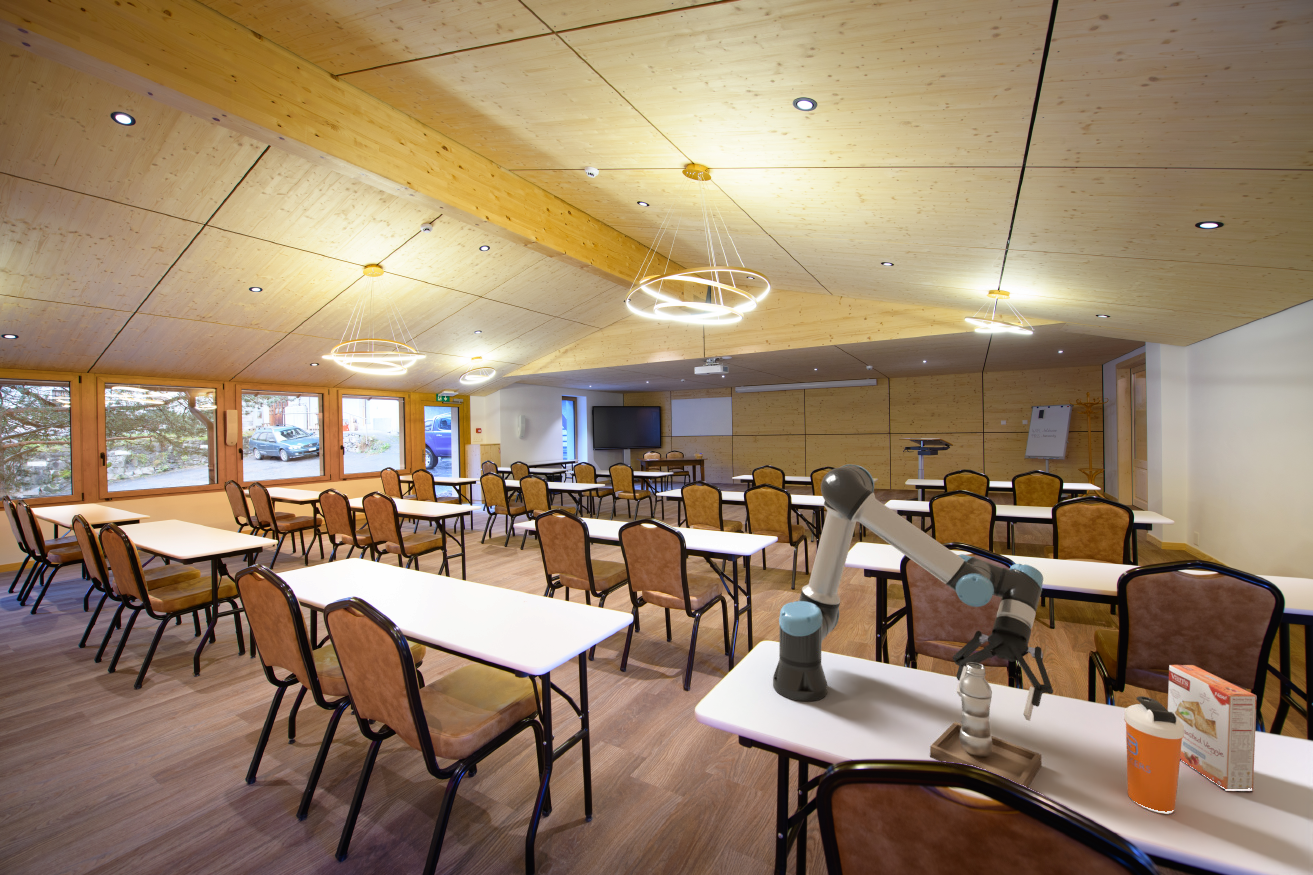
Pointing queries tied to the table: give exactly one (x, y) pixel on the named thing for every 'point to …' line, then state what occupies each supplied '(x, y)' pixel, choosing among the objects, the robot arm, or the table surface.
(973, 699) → the plastic bottle
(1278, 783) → the table surface
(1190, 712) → the cracker box
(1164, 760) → the shaker bottle
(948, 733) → the walnut tray
